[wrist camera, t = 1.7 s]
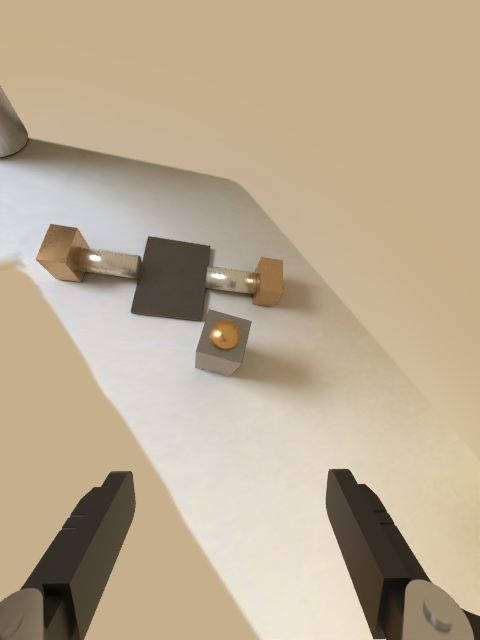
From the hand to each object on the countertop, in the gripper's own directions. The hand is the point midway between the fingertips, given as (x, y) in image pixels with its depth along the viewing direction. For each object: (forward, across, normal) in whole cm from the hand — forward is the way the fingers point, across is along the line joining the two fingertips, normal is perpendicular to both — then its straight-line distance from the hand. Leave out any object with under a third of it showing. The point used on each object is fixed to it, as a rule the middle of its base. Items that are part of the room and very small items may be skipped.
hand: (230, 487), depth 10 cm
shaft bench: (+27, +8, -7) cm, 29 cm away
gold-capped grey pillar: (+22, +2, +2) cm, 22 cm away
